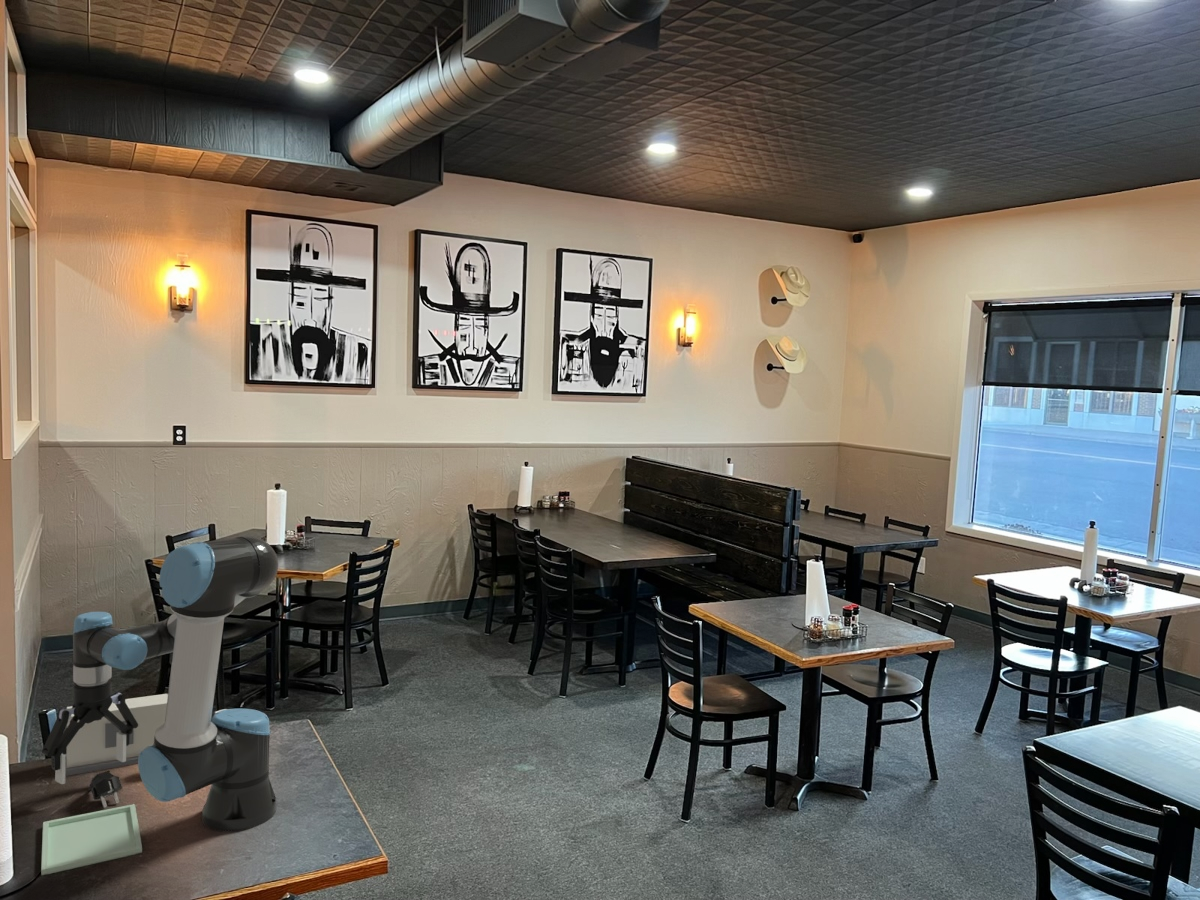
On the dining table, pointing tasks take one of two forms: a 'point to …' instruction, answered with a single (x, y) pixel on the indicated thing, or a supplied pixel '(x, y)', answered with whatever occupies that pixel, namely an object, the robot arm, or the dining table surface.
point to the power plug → (105, 786)
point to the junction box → (114, 737)
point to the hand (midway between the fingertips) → (91, 771)
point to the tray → (90, 839)
